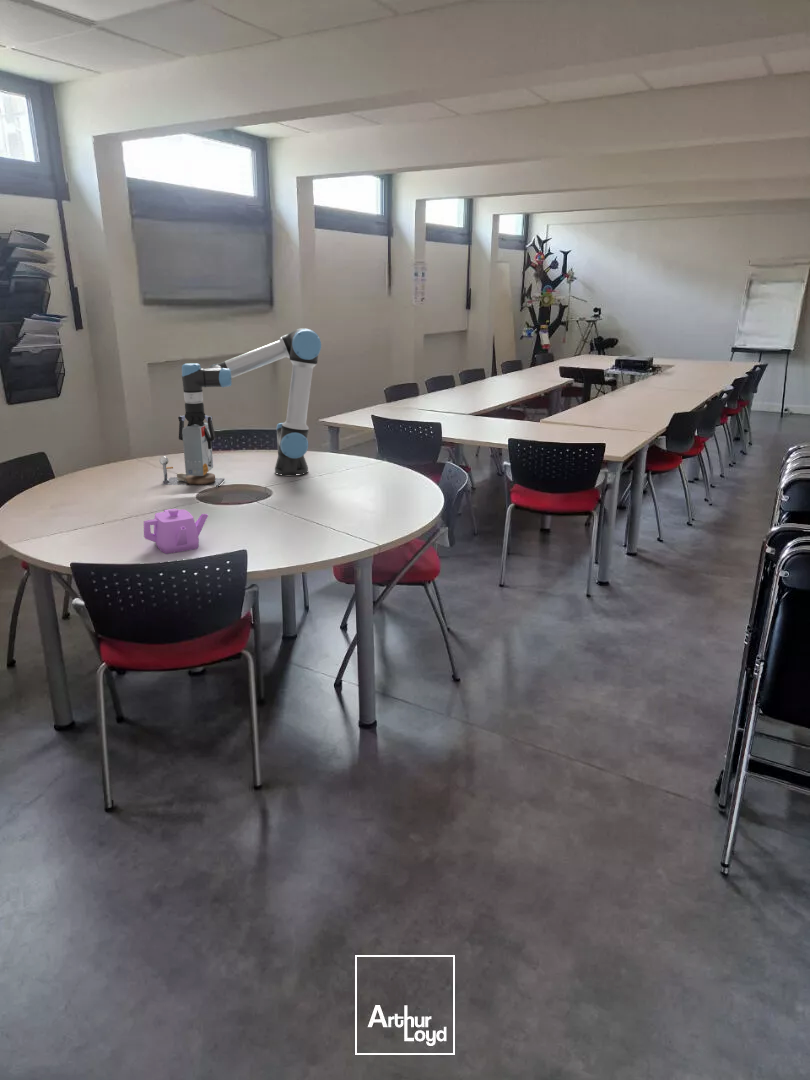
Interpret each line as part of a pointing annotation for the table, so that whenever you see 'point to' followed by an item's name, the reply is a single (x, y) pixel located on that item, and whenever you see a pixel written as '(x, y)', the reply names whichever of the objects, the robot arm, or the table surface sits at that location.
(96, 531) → the table surface
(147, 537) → the teakettle
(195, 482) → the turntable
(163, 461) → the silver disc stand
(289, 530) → the table surface
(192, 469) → the hard drive box
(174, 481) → the dark grey rectangular plate
